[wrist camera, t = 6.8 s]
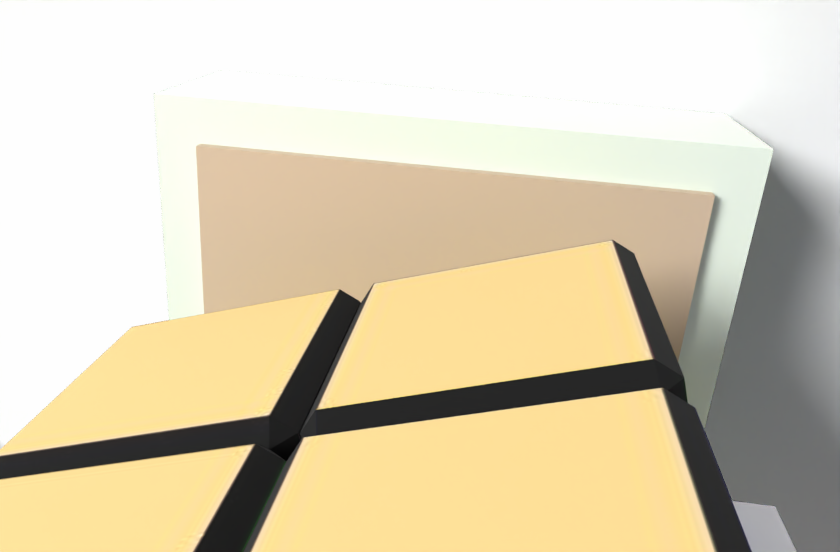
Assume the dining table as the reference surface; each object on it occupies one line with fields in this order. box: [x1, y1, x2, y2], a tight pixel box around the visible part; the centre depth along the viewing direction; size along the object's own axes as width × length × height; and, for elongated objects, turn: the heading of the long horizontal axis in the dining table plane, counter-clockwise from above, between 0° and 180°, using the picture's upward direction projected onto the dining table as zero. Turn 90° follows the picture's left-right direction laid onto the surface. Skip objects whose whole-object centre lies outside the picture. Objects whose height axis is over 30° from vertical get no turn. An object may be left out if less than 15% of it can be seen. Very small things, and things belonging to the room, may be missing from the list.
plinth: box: [154, 70, 774, 429], centre depth 20 cm, size 13×13×4 cm
